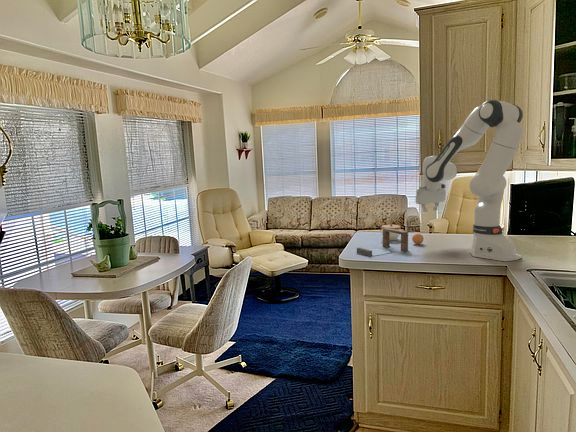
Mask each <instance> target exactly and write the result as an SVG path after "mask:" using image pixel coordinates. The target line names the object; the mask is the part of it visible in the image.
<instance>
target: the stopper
mask: <svg viewBox="0 0 576 432" xmlns="http://www.w3.org/2000/svg"><path fill="white" fill-rule="evenodd" d="M356 253H357V254H359V255H364V256H366V257H367V256H368V257H371V256H372V250H368V249H367V248H364V247H356Z"/></svg>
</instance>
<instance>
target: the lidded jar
mask: <svg viewBox="0 0 576 432" xmlns="http://www.w3.org/2000/svg"><path fill="white" fill-rule="evenodd" d="M383 228H390V229H396V230H401V228H402V226H401V225H398V224H393V223H389V224H384V225H381V233H382V234H381V235H382V236H383ZM401 231H402V230H401ZM400 236H401V234H397V233H392V232H390V240H393V241H396V240H397V239H399V237H400Z"/></svg>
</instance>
